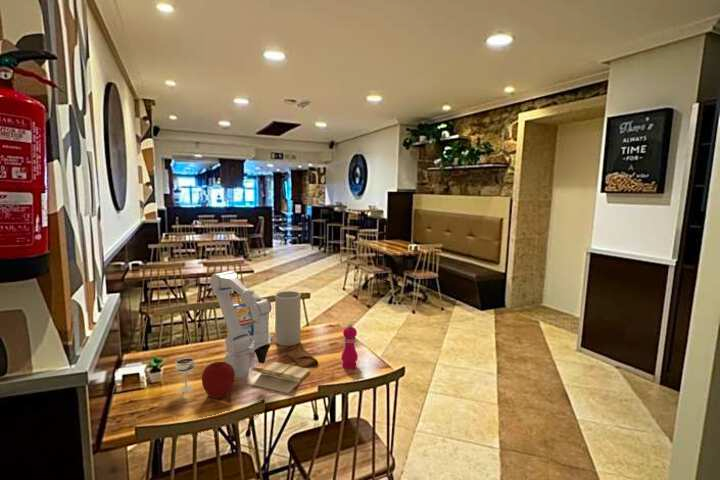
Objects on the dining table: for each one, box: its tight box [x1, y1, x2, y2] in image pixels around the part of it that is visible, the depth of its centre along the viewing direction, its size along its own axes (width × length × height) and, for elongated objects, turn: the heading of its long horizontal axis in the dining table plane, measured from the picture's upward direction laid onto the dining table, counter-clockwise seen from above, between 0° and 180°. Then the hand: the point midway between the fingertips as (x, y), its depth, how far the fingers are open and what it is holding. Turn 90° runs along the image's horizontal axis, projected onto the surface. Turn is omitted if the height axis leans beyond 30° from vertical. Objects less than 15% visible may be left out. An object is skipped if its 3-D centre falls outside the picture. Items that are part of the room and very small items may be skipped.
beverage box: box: [233, 302, 254, 341], centre depth 185 cm, size 7×11×22 cm, turn 124°
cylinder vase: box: [274, 290, 302, 347], centre depth 194 cm, size 12×12×25 cm
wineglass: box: [175, 355, 196, 393], centre depth 148 cm, size 7×7×12 cm
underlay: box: [246, 370, 312, 394], centre depth 159 cm, size 20×19×1 cm
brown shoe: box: [286, 345, 319, 369], centre depth 176 cm, size 18×7×7 cm, turn 35°
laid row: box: [263, 361, 311, 382], centre depth 163 cm, size 18×8×1 cm, turn 70°
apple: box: [201, 361, 236, 400], centre depth 144 cm, size 12×12×13 cm
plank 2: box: [272, 371, 301, 383], centre depth 154 cm, size 9×8×1 cm
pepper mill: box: [341, 323, 358, 370], centre depth 169 cm, size 7×7×20 cm
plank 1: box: [251, 366, 278, 377], centre depth 157 cm, size 9×8×1 cm
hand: (261, 362), depth 153 cm, fingers closed
